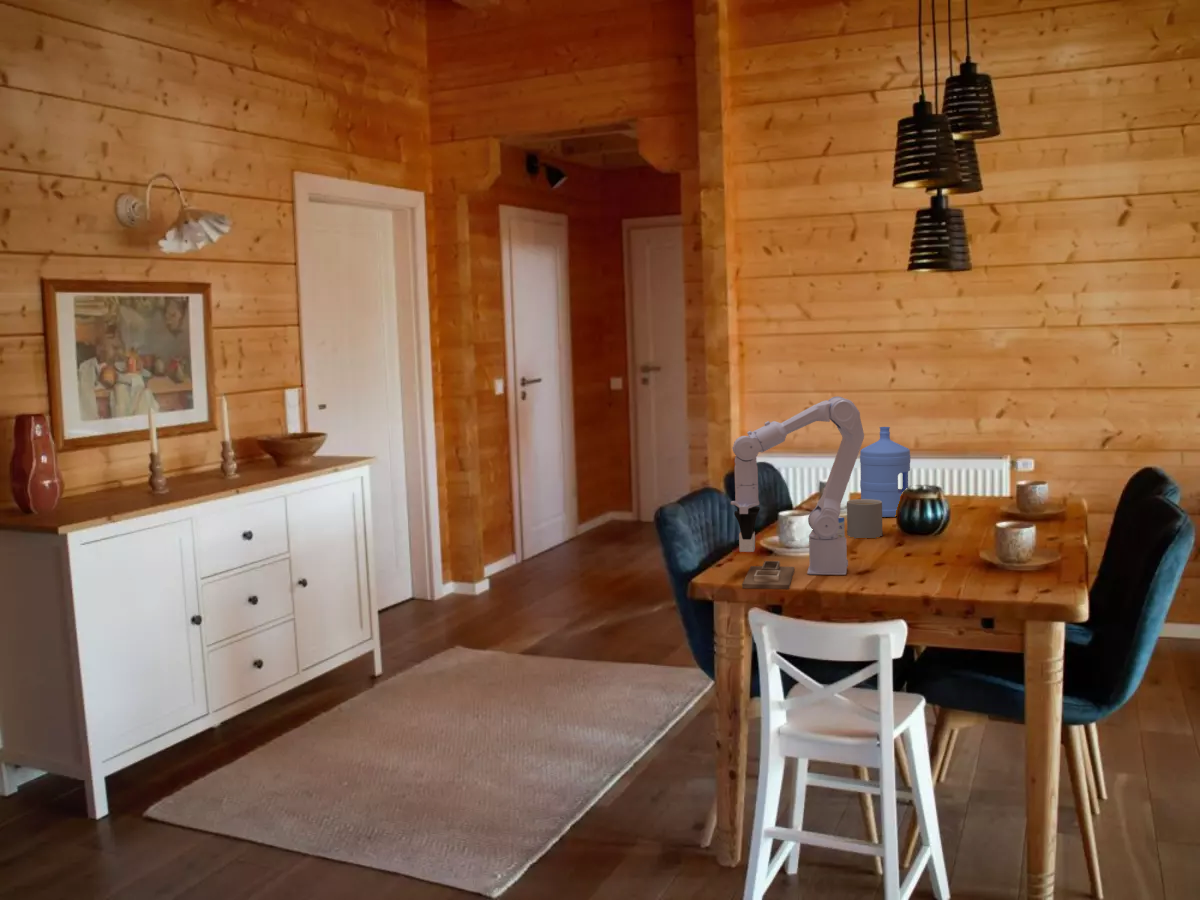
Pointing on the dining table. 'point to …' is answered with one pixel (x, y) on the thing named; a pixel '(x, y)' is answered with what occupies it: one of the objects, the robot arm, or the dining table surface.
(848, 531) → the coffee mug
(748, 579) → the socket board
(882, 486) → the water jug
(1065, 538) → the dining table surface
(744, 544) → the square peg
